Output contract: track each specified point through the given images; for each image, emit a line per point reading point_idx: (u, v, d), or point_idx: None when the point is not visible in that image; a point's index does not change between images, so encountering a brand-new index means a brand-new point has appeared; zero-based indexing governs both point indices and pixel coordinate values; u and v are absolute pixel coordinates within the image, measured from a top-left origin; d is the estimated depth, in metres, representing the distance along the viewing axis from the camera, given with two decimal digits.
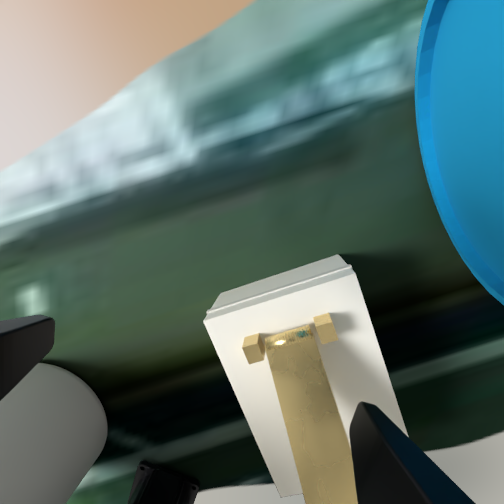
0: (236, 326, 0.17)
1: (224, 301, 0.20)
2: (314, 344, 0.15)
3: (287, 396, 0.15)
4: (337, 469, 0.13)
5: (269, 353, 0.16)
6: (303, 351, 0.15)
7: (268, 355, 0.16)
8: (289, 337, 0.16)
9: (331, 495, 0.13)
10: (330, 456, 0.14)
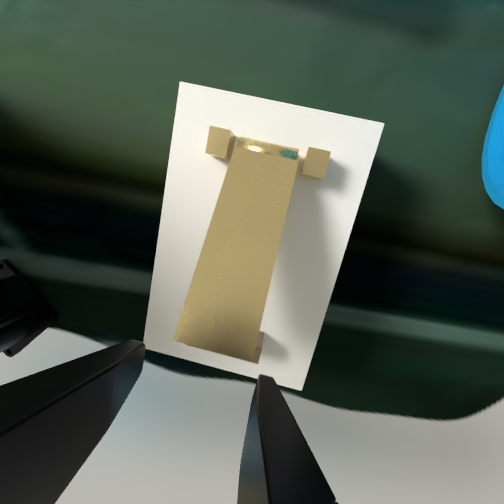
0: (214, 112, 0.13)
1: None
2: (295, 166, 0.12)
3: (231, 198, 0.11)
4: (243, 290, 0.10)
5: (237, 150, 0.12)
6: (278, 167, 0.12)
7: (235, 151, 0.12)
8: (271, 145, 0.12)
9: (219, 312, 0.10)
10: (243, 275, 0.10)
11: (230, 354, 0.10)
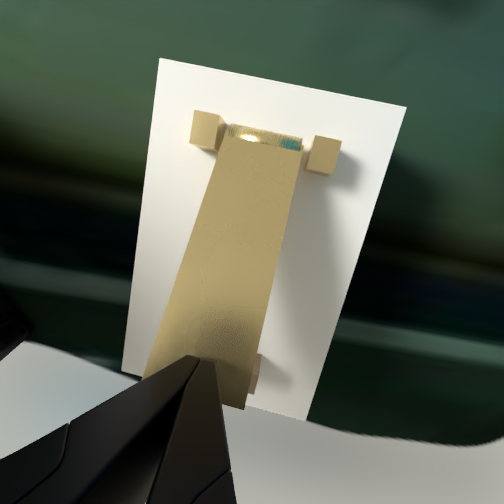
0: (201, 94, 0.11)
1: None
2: (298, 159, 0.10)
3: (219, 198, 0.09)
4: (233, 315, 0.08)
5: (228, 139, 0.10)
6: (277, 160, 0.10)
7: (225, 141, 0.10)
8: (269, 133, 0.10)
9: (202, 343, 0.08)
10: (233, 295, 0.08)
11: None
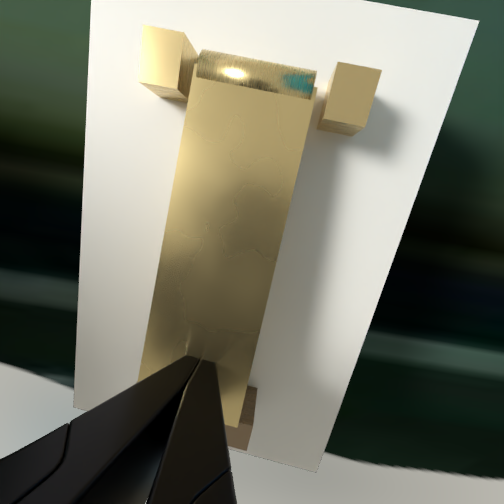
0: (160, 11, 0.07)
1: None
2: (307, 115, 0.06)
3: (193, 189, 0.07)
4: (221, 339, 0.07)
5: (198, 85, 0.06)
6: (275, 119, 0.06)
7: (193, 88, 0.06)
8: (263, 69, 0.06)
9: None
10: (220, 318, 0.07)
11: None
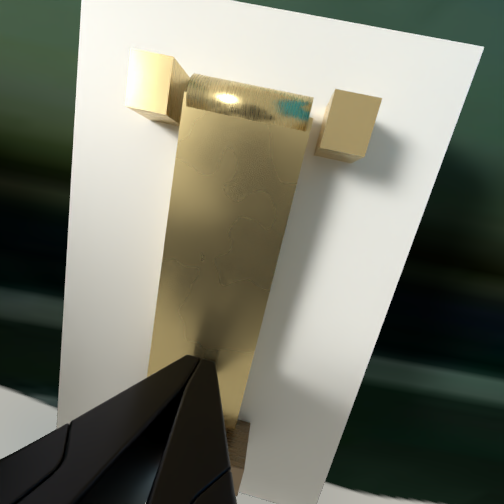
0: (151, 33, 0.07)
1: None
2: (301, 147, 0.06)
3: (188, 220, 0.07)
4: (219, 357, 0.08)
5: (188, 115, 0.06)
6: (269, 151, 0.06)
7: (184, 118, 0.06)
8: (255, 99, 0.06)
9: None
10: (217, 339, 0.08)
11: None
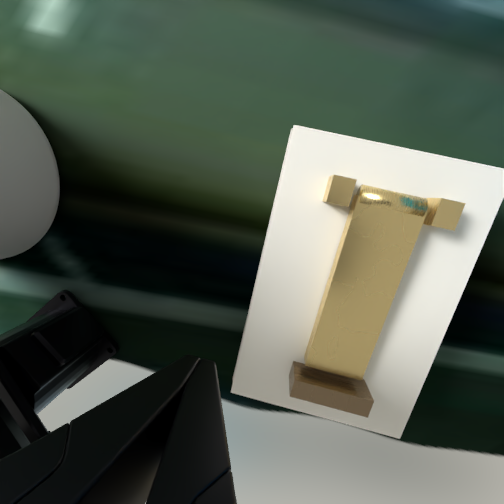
0: (329, 156, 0.12)
1: None
2: (419, 224, 0.12)
3: (351, 260, 0.12)
4: (358, 336, 0.13)
5: (359, 206, 0.12)
6: (402, 226, 0.12)
7: (357, 208, 0.12)
8: (398, 201, 0.11)
9: (338, 350, 0.14)
10: (358, 325, 0.13)
11: (346, 375, 0.14)
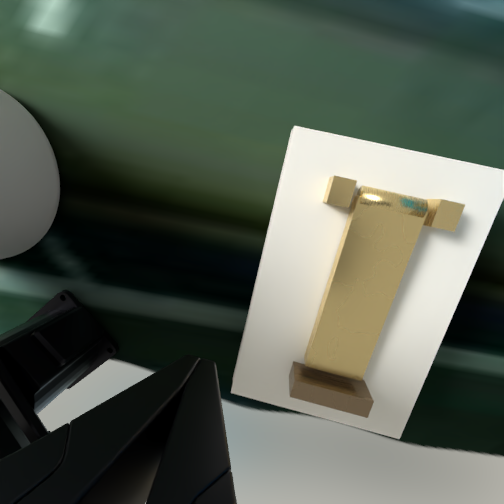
0: (329, 157, 0.13)
1: None
2: (419, 225, 0.12)
3: (351, 261, 0.12)
4: (357, 337, 0.13)
5: (360, 207, 0.12)
6: (402, 226, 0.12)
7: (357, 209, 0.12)
8: (398, 202, 0.11)
9: (338, 350, 0.14)
10: (358, 326, 0.13)
11: (346, 376, 0.14)
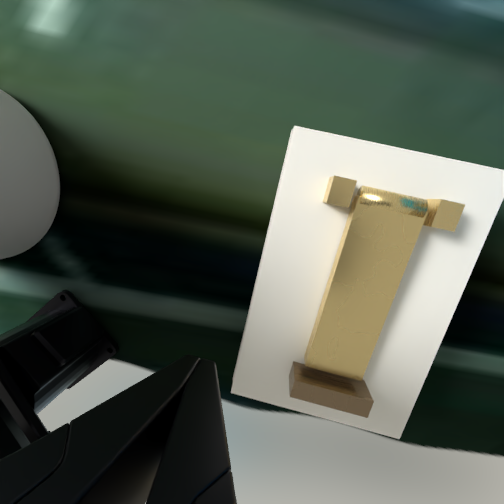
0: (329, 157, 0.13)
1: None
2: (419, 225, 0.12)
3: (351, 261, 0.12)
4: (357, 337, 0.13)
5: (360, 207, 0.12)
6: (402, 226, 0.12)
7: (357, 209, 0.12)
8: (398, 202, 0.11)
9: (338, 350, 0.14)
10: (358, 326, 0.13)
11: (346, 376, 0.14)
